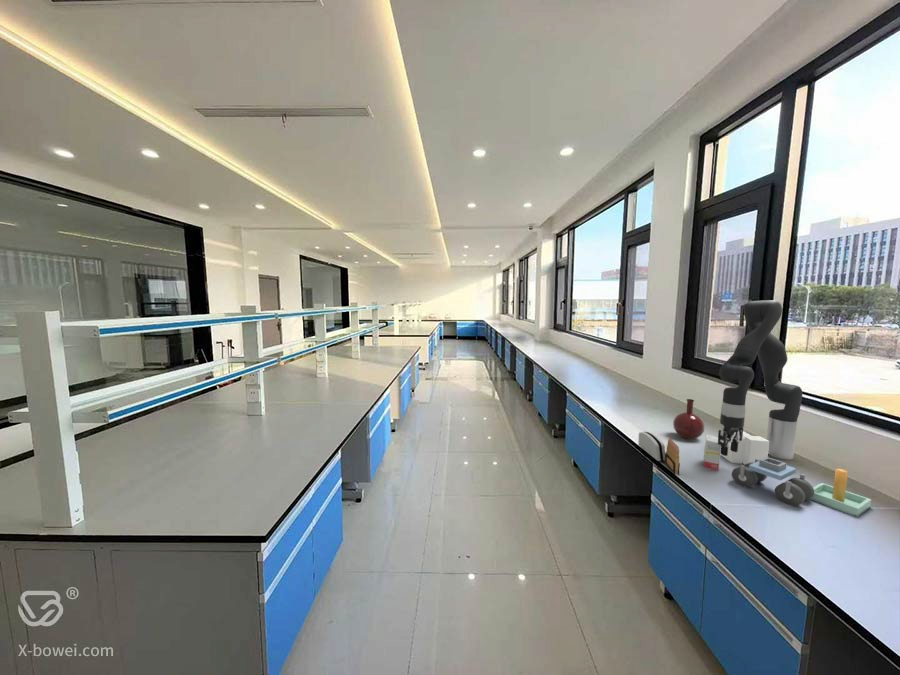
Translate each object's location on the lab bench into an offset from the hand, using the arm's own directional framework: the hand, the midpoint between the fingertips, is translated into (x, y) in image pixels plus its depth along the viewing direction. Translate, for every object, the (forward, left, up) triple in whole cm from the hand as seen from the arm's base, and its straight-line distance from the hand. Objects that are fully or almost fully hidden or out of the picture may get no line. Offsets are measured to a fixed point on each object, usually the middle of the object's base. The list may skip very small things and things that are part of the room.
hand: (728, 453), depth 141 cm
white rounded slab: (+12, -23, -8) cm, 28 cm away
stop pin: (-9, +29, -7) cm, 31 cm away
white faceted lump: (-16, -2, -8) cm, 18 cm away
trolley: (+3, +15, -8) cm, 17 cm away
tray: (-9, +29, -8) cm, 31 cm away
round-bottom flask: (-23, -28, -8) cm, 37 cm away
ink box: (0, -6, -8) cm, 10 cm away
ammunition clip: (+18, -11, -8) cm, 23 cm away
